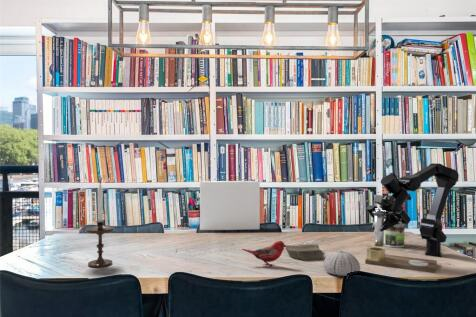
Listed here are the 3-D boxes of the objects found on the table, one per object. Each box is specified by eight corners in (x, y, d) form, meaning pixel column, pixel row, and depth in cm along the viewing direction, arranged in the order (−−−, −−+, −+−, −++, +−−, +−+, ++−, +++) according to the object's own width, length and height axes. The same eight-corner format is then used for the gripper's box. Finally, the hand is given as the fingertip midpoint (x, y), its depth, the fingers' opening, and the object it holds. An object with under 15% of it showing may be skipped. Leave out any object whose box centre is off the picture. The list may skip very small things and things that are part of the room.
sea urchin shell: (318, 268, 149) (318, 247, 149) (352, 267, 151) (352, 246, 151) (330, 279, 136) (330, 256, 136) (367, 278, 137) (367, 255, 137)
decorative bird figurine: (286, 267, 150) (286, 241, 150) (241, 265, 153) (241, 240, 152) (286, 265, 153) (286, 240, 152) (242, 263, 155) (242, 238, 155)
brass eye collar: (369, 256, 162) (369, 246, 162) (386, 258, 158) (386, 248, 158) (365, 259, 156) (365, 249, 156) (383, 261, 153) (383, 251, 153)
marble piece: (318, 251, 177) (318, 242, 177) (330, 260, 162) (330, 250, 162) (282, 252, 174) (282, 243, 174) (291, 261, 160) (291, 251, 160)
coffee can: (409, 246, 185) (409, 217, 185) (392, 248, 181) (392, 218, 181) (393, 242, 195) (393, 214, 195) (377, 243, 191) (377, 215, 191)
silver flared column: (373, 243, 160) (373, 210, 160) (386, 244, 157) (386, 211, 157) (371, 246, 155) (371, 212, 155) (385, 247, 153) (385, 212, 153)
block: (200, 230, 225) (200, 182, 225) (199, 227, 233) (200, 181, 233) (259, 229, 229) (259, 181, 229) (257, 226, 237) (257, 180, 237)
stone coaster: (409, 260, 155) (409, 259, 155) (428, 263, 151) (428, 261, 151) (407, 264, 149) (407, 263, 149) (427, 267, 145) (427, 265, 145)
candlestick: (119, 261, 158) (119, 175, 158) (104, 269, 147) (104, 177, 147) (96, 260, 160) (96, 175, 160) (79, 267, 150) (79, 176, 149)
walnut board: (371, 256, 167) (371, 252, 167) (436, 264, 155) (436, 260, 155) (365, 263, 156) (365, 259, 156) (435, 272, 143) (435, 268, 143)
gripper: (369, 186, 166) (349, 213, 161) (405, 189, 150) (384, 220, 145) (382, 203, 170) (363, 231, 165) (419, 208, 153) (399, 239, 148)
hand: (376, 230), depth 156 cm, fingers closed on silver flared column, 4 cm apart
